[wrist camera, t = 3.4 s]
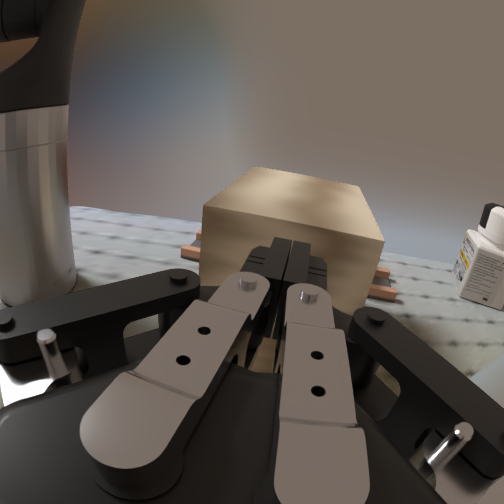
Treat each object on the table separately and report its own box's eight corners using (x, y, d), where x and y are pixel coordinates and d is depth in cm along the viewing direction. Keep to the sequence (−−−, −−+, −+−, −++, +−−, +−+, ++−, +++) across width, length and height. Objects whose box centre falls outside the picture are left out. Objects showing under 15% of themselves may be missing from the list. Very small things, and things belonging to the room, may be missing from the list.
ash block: (195, 362, 23) (203, 205, 17) (240, 276, 35) (254, 166, 30) (328, 393, 21) (384, 241, 16) (331, 295, 34) (358, 186, 29)
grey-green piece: (180, 257, 37) (181, 225, 35) (201, 235, 43) (203, 207, 42) (393, 302, 34) (405, 271, 32) (384, 273, 40) (393, 246, 38)
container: (450, 274, 43) (477, 194, 37) (489, 287, 40) (517, 210, 35) (458, 297, 36) (491, 206, 31) (501, 311, 34) (536, 225, 28)
